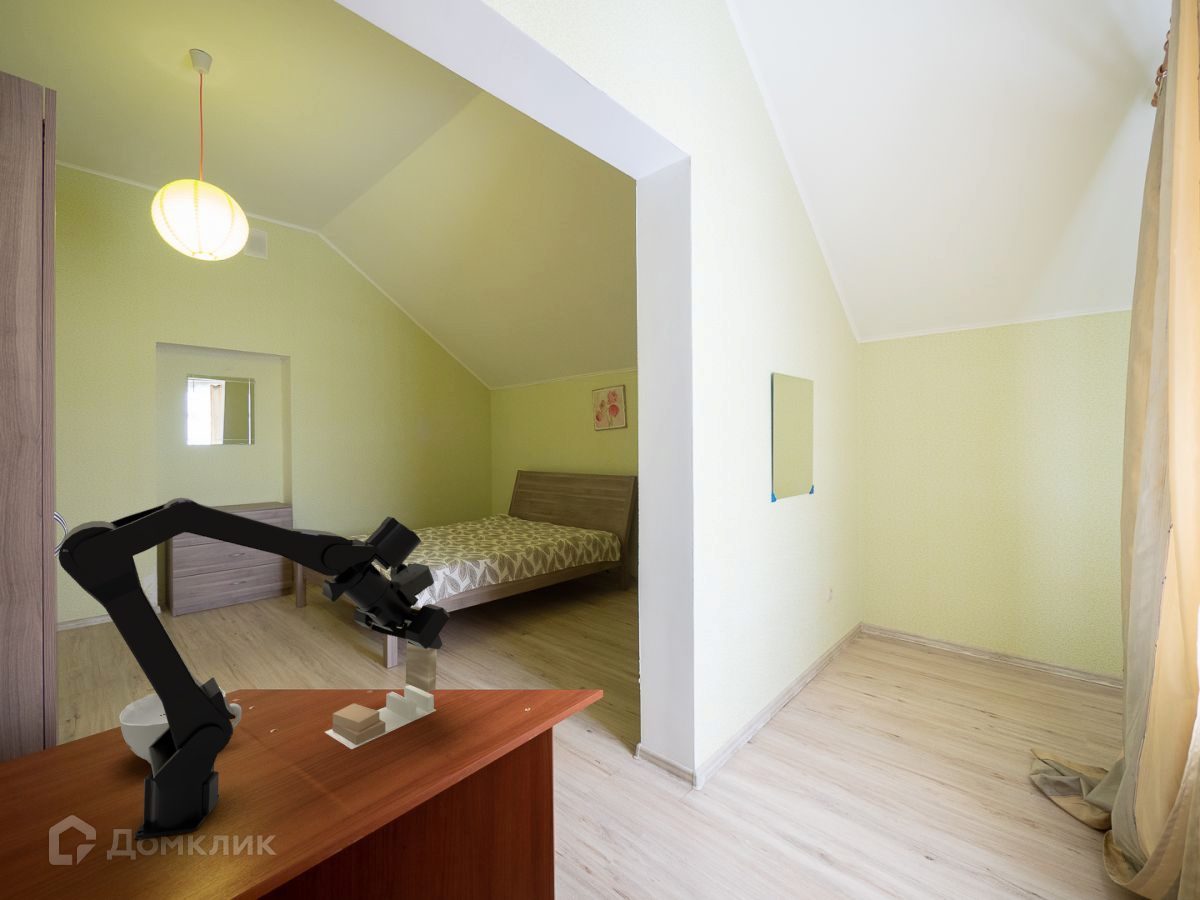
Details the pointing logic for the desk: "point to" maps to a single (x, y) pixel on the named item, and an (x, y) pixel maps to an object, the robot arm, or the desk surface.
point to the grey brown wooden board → (421, 666)
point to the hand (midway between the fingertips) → (428, 642)
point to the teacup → (150, 723)
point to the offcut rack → (380, 717)
